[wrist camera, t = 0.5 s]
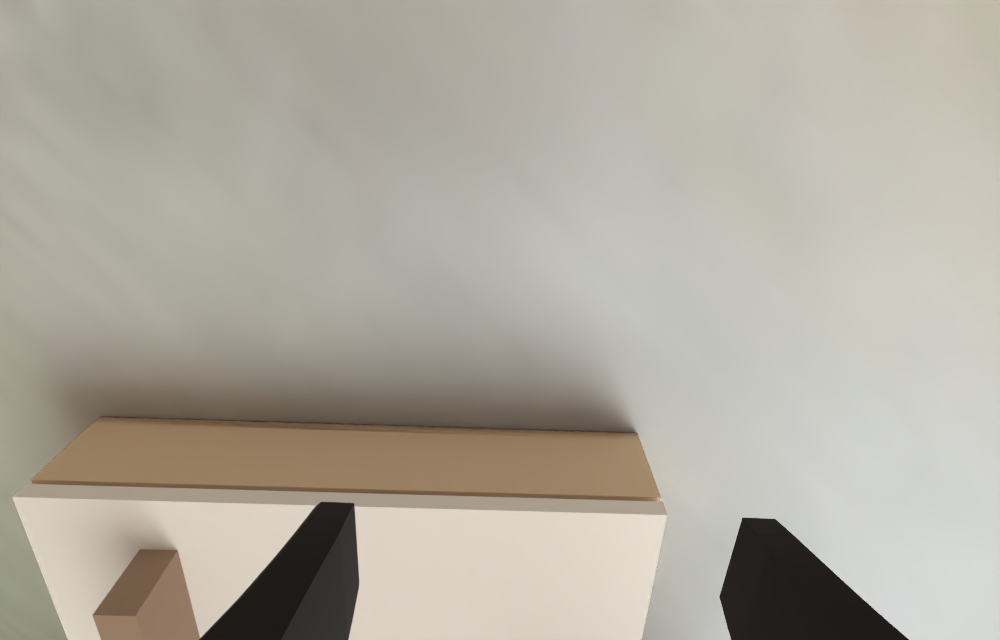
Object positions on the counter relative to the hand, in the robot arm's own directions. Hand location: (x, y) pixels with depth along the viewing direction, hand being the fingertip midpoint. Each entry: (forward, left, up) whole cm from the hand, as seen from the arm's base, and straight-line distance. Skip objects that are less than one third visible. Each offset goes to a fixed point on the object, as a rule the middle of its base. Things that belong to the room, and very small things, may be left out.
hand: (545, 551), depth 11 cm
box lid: (-10, +5, -6) cm, 13 cm away
